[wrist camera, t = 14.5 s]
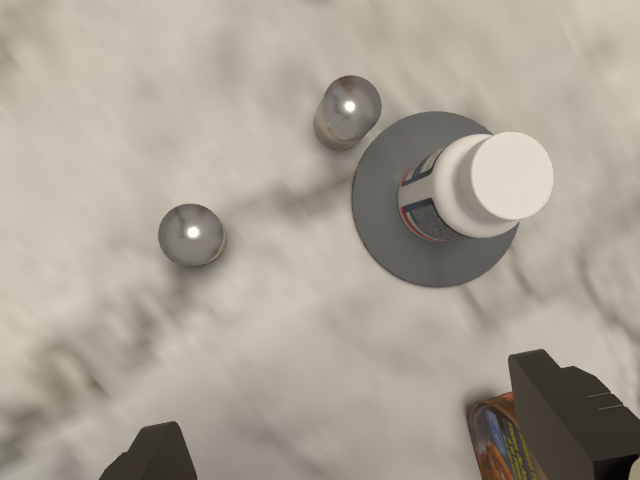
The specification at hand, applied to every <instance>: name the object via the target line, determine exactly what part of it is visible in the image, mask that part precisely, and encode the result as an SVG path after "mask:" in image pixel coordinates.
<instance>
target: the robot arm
mask: <svg viewBox="0 0 640 480" xmlns="http://www.w3.org/2000/svg"><path fill="white" fill-rule="evenodd" d="M508 364H509V371H510V378H511V385H512V392H513V398H514V405H515V412H516V417H517V421H518V424H519V428H520V430H521V433H522V436H523V438H524V440H525V442H526V444H527V445H528V447H529V449H530V450H531V452H532V454H533V455H534V457H535V459H536V460H537V462H538V464H539V465H540V467H541V469H542V470H543V472H544V474H545V475H546V477H547V479H548V480H640V420H639V419H638V418H637V417H636V416H635V415H634V414H633V413H632V412H631V411H630V410H629V409H628V408H627V407H624V405H623V403H622V402H621V401H620V400H619V399H618V398H617V397H616V396H615V395H614V394H611V391H610V390H609V389H608V388H607V387H606V386H605V385H604V384H603V383H602V382H601V381H600V380H599V379H598V378H597V377H596V376H594V375H592V374H589V373H587V372H585V371H583V370H581V369H579V368H577V367H575V366H571V367H565V368H560V367H559V365H558V364H557V363H556V362H555V361H554V360H553V359H552V358H551V357H550V356H549V355H548V353H547V352H546V351H545V350H543V349H538V350H533V351H528V352H523V353H518V354H513V355H509V358H508ZM99 480H197V475H196V472H195V469H194V466H193V463H192V460H191V457H190V454H189V451H188V449H187V446H186V443H185V440H184V437H183V434H182V431H181V429H180V427H179V425H178V424H177V423H176V422H174V421H172V422H167V423H161V424H156V425H151V426H146V427H143V428H142V429H141V430H140V432H139V433H138V435H137V437H136V438H135V440H134V442H133V443H132V445H131V446H130V448H129V450H128V451H127V452H124V453H122V454H121V455H120V456H119V457H118V458H117V459H116V460H115V461H114V462H113V463H112V464H110V465H109V466H108V467H107V468H106V469H105V470H104V472H103V474H102V475H101V477H100V478H99Z"/></svg>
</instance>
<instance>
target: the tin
mask: <svg viewBox="0 0 640 480" xmlns="http://www.w3.org/2000/svg"><path fill="white" fill-rule="evenodd" d="M469 428H470V435H471V440H472V444H473V447H474V451H475V455H476V458H477V461H478V465H479V468H480V472H481V475H482V478H483V480H548V479H547V477H546V475H545V474H544V472H543V470H542V469H541V467H540V465H539V464H538V462H537V460H536V459H535V457H534V455H533V454H532V452H531V450H530V449H529V447H528V445H527V444H526V442H525V440H524V438H523V436H522V433H521V430H520V428H519V424H518V421H517V417H516V412H515V405H514V398H513V392H508V393H505V394H502V395H500V396H497V397H495V398H492V399H490V400H487V401H480V402H477V403H476V404H475V405H474V406H473V407H472V409H471V412H470V417H469Z"/></svg>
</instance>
